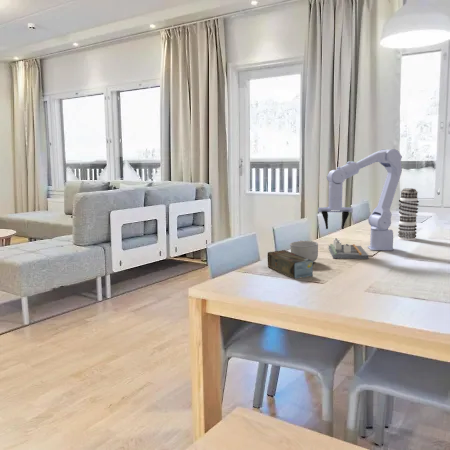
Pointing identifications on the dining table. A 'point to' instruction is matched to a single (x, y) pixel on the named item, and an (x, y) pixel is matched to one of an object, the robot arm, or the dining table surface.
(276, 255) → the beverage carton
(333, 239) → the breaker
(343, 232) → the dining table surface
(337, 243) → the breaker
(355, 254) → the panel
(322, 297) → the dining table surface
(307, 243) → the teacup
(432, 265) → the dining table surface
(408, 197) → the decorative candle
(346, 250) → the breaker
